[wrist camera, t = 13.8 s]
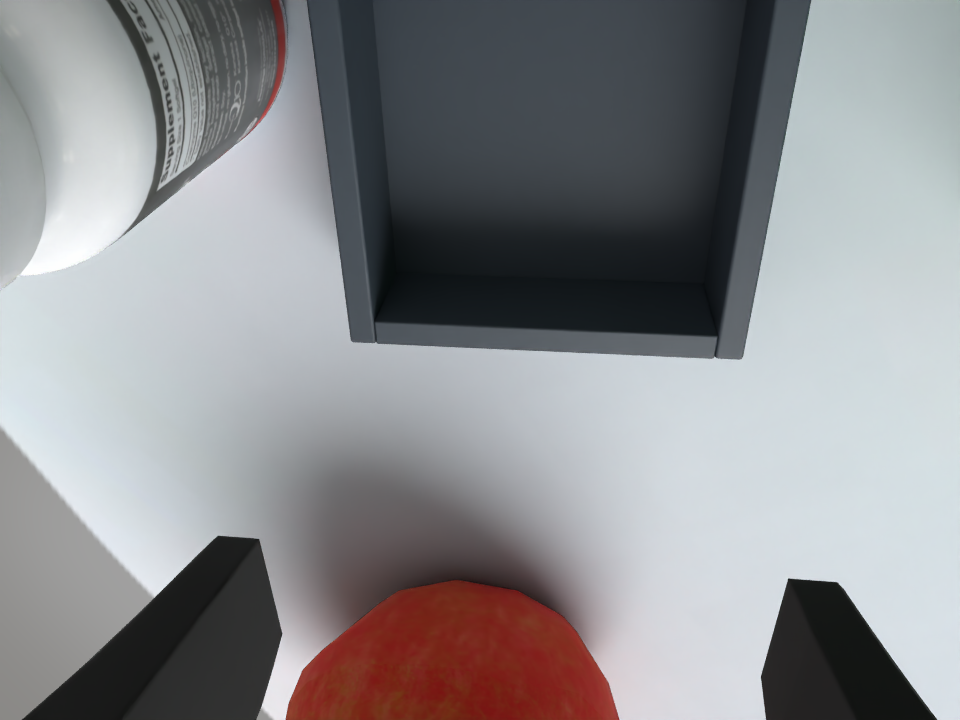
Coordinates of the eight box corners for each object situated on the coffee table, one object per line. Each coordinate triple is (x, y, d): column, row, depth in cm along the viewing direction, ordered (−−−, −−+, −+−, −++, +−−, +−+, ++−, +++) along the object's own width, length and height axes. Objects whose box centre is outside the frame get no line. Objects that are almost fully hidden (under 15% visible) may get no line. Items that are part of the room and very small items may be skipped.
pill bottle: (83, 140, 19) (-309, 354, 11) (9, -135, 16) (-623, -133, 8) (310, 151, 18) (82, 386, 10) (280, -131, 15) (-83, -123, 7)
